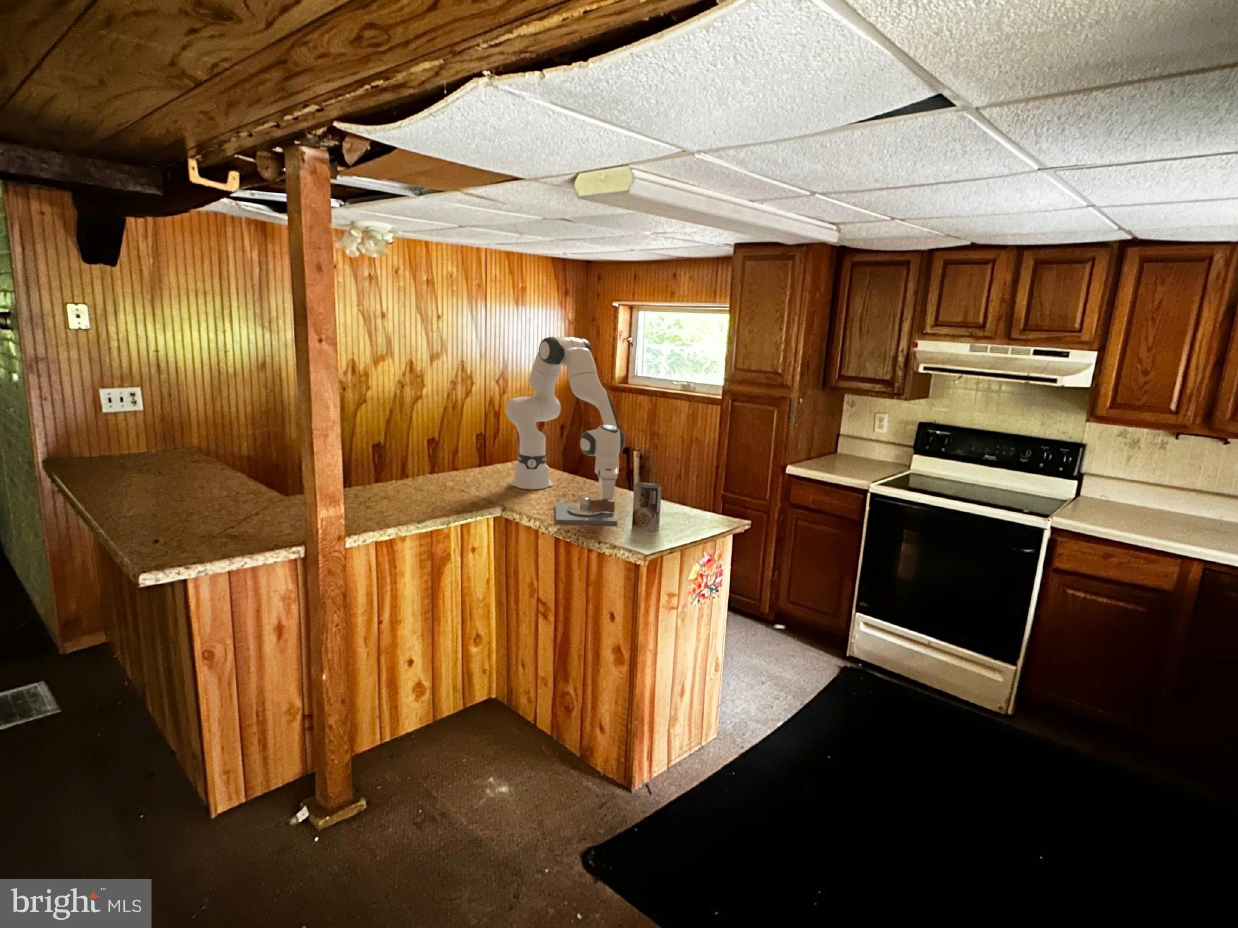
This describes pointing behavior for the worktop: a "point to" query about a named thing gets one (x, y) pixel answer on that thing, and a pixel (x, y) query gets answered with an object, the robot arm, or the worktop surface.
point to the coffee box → (646, 506)
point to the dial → (592, 506)
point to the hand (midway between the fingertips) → (604, 504)
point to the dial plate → (570, 518)
